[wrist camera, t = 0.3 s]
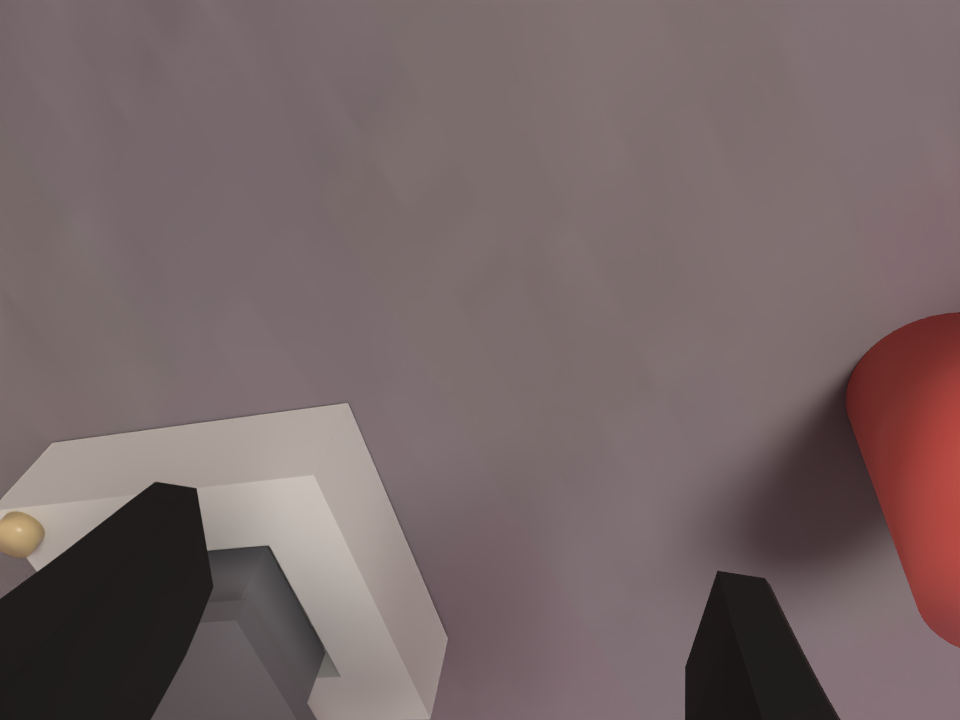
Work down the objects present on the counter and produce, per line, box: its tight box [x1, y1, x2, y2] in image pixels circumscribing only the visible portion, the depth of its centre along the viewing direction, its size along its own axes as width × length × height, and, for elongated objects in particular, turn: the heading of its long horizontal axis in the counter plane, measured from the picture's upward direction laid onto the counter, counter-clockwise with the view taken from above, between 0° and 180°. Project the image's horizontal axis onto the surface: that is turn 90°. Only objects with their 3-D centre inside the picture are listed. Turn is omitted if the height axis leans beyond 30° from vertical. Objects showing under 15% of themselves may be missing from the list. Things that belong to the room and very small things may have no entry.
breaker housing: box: [0, 403, 448, 720], centre depth 25 cm, size 10×10×4 cm
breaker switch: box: [151, 546, 325, 720], centre depth 23 cm, size 7×7×4 cm
